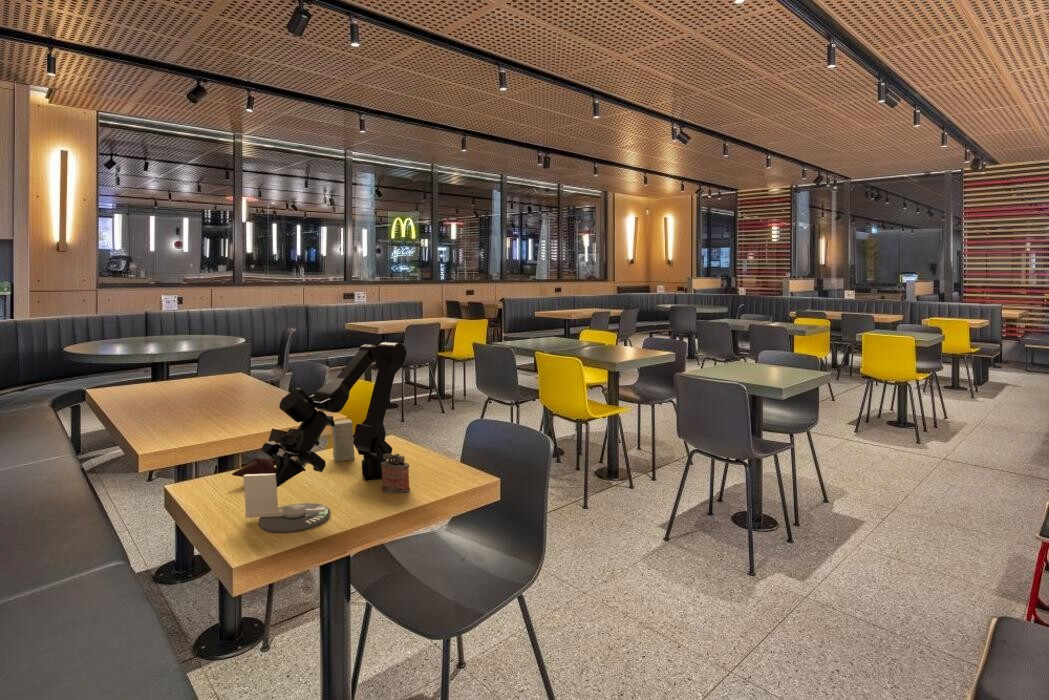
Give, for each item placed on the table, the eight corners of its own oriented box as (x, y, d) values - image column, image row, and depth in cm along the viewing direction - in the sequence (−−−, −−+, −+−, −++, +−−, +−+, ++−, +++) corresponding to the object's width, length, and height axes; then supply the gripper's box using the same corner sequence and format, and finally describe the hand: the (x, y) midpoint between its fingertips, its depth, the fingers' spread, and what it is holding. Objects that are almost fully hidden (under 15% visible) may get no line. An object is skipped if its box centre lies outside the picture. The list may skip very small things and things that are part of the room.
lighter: (412, 490, 166) (411, 453, 164) (406, 494, 163) (404, 457, 161) (386, 486, 168) (385, 451, 167) (379, 491, 165) (378, 454, 164)
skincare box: (352, 456, 197) (351, 418, 195) (354, 459, 193) (353, 422, 191) (332, 458, 194) (330, 420, 193) (334, 462, 190) (332, 424, 189)
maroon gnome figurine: (240, 468, 165) (292, 460, 176) (228, 456, 169) (279, 449, 181) (236, 491, 166) (288, 481, 178) (224, 479, 171) (276, 470, 182)
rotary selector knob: (327, 508, 150) (325, 468, 149) (322, 516, 145) (320, 475, 144) (250, 512, 148) (247, 471, 147) (243, 520, 143) (240, 478, 142)
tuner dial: (329, 502, 157) (329, 498, 157) (331, 527, 142) (331, 522, 142) (261, 511, 152) (261, 506, 152) (255, 537, 137) (255, 532, 137)
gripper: (264, 410, 157) (227, 464, 149) (312, 419, 146) (275, 478, 139) (293, 433, 164) (259, 485, 156) (340, 443, 154) (306, 500, 146)
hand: (273, 487), depth 149 cm, fingers closed
